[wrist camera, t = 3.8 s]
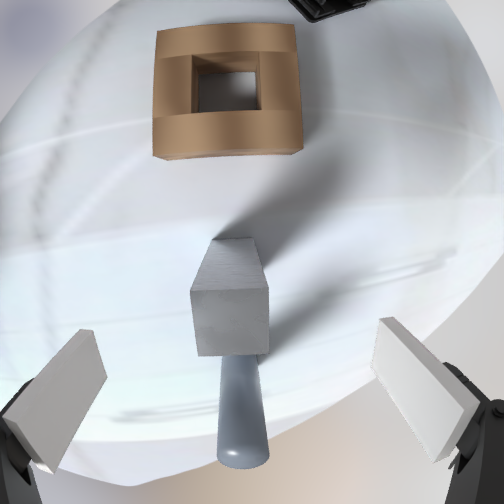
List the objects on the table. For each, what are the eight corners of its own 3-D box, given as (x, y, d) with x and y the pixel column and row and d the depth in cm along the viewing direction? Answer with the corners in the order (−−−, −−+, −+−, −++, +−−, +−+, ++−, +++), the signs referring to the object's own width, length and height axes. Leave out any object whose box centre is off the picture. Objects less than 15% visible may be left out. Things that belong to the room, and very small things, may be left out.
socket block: (167, 160, 26) (152, 155, 21) (168, 52, 23) (157, 31, 18) (291, 154, 27) (303, 148, 22) (285, 47, 24) (294, 24, 19)
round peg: (223, 374, 32) (219, 469, 18) (220, 346, 31) (213, 442, 17) (257, 372, 32) (269, 467, 18) (256, 344, 31) (269, 440, 17)
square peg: (214, 278, 29) (198, 356, 15) (211, 239, 28) (189, 291, 14) (254, 276, 29) (269, 353, 15) (252, 237, 28) (268, 287, 15)
